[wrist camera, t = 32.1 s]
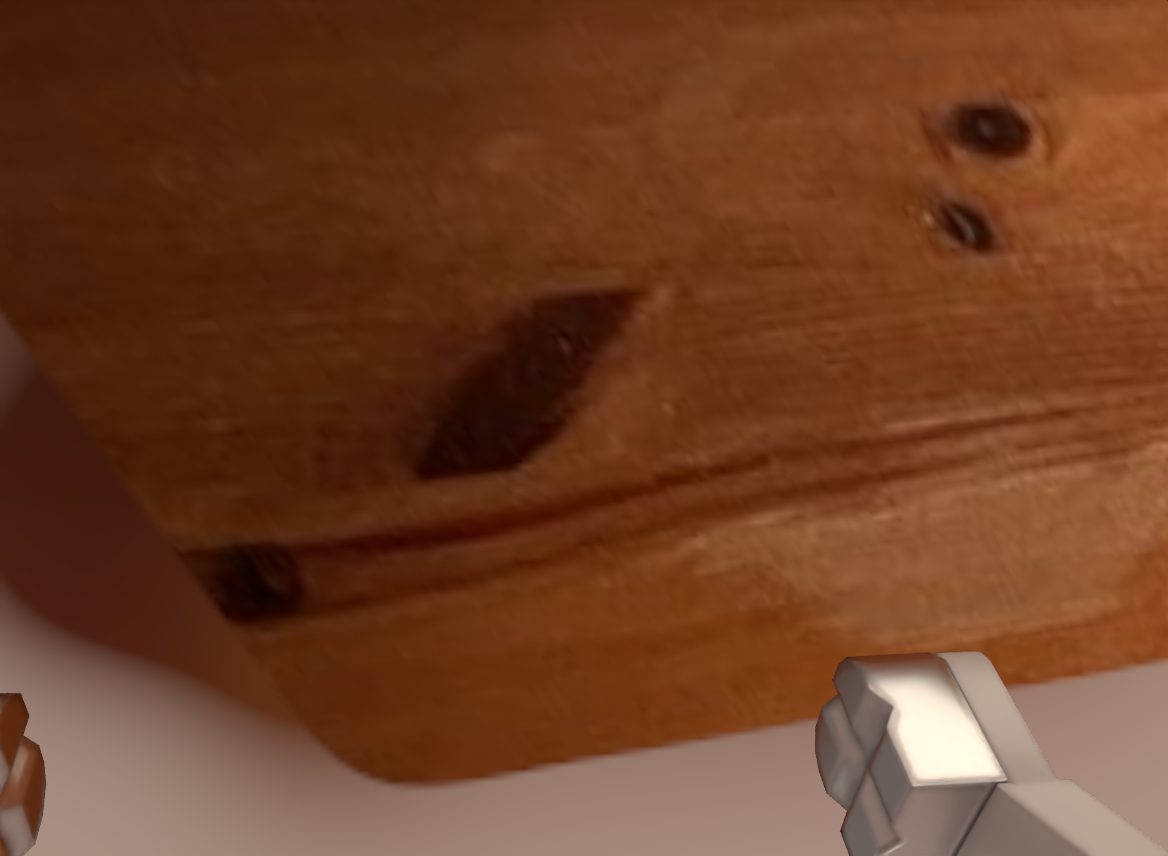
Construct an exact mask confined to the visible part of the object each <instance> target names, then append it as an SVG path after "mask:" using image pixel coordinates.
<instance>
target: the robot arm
mask: <svg viewBox="0 0 1168 856" xmlns="http://www.w3.org/2000/svg"><path fill="white" fill-rule="evenodd" d="M832 680H833V683H834V685H835V688H836V690H837V693H838V695H837V696H835V697H834V698H833V699H831V700H830V701H829V702H827V703H826V704H825V705H824V706H822V709H821V712H820V715H819V718H818V721H817V724H816V727H815V728H816V729H815V733H816V734H815V752H816V758H817V763H818V768H819V773H820V776H821V779H822V781H823V784H824V787H825V790H826V793H827V794H828V795H829V796H830V797H832V798H833V799H834V800H835V801H836V802H837V803H839V804H840V805H841V806H842V807H843V808H844V809H845V810H847V813H846V816H845V819H844V822H843V824H842V828H841V830H840V832H841V834H842V837H843V840H844V842H845V845H846V848H847V850H848V853H849V856H1168V851H1167V850H1165V849H1164V848H1163V847H1161V846H1160V845H1159V844H1157V843H1156V842H1155V841H1153V840H1152V839H1151V838H1149V837H1148V836H1146V835H1145V834H1144V833H1142V832H1141V831H1140V830H1138V829H1137V828H1136V827H1134V826H1133V825H1132V824H1130V823H1129V822H1128V821H1126V820H1125V819H1124V818H1122V817H1121V816H1119V815H1118V814H1117V813H1116V812H1114V811H1113V810H1111V809H1110V808H1109V807H1107V806H1106V805H1105V804H1103V803H1102V802H1101V801H1099V800H1098V799H1097V798H1095V797H1094V796H1093V795H1091V794H1090V793H1089V792H1087V791H1086V790H1085V789H1083V788H1082V787H1080V786H1079V785H1078V784H1077V783H1075V782H1074V781H1072V780H1071V779H1066V780H1065V779H1063V780H1058V779H1057V777H1056V775H1055V774H1054V772H1053V770H1052V768H1051V767H1050V765H1049V763H1048V761H1047V760H1046V758H1045V756H1044V755H1043V753H1042V751H1041V749H1040V747H1039V746H1038V744H1037V742H1036V741H1035V739H1034V737H1033V735H1032V733H1031V732H1030V730H1029V728H1028V726H1027V725H1026V723H1025V721H1024V719H1023V718H1022V716H1021V714H1020V712H1019V711H1018V709H1017V707H1016V705H1015V704H1014V702H1013V700H1012V698H1011V697H1010V695H1009V693H1008V691H1007V690H1006V688H1005V686H1004V684H1003V683H1002V681H1001V679H1000V677H999V676H998V674H997V672H996V670H995V669H994V667H993V665H992V663H991V662H990V660H989V659H988V658H987V657H986V656H984V655H983V654H982V653H981V652H953V653H935V654H931V653H911V654H893V655H875V656H857V657H847V658H845V659H844V660H843V661H842V662H841V663H839V665H838V667H837V669H836V672H835V674H834V677H833V679H832ZM28 718H29V714H28V711H27V708H26V706H25V703H24V701H23V698H22V695H21V694H20V693H14V694H13V693H6V694H4V693H2V694H0V856H23V855H24V854H25V853H26V852H27V851H29V849H31V848H32V847H33V846H34V845H35V842H36V839H37V835H38V831H39V827H40V824H41V820H42V816H43V807H44V798H45V788H46V778H45V767H44V760H43V757H42V754H41V750H40V747H39V745H38V744H36V743H35V742H33V741H31V740H30V739H28V738H27V737H25V736H23V734H24V731H25V727H26V725H27V722H28Z"/></svg>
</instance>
